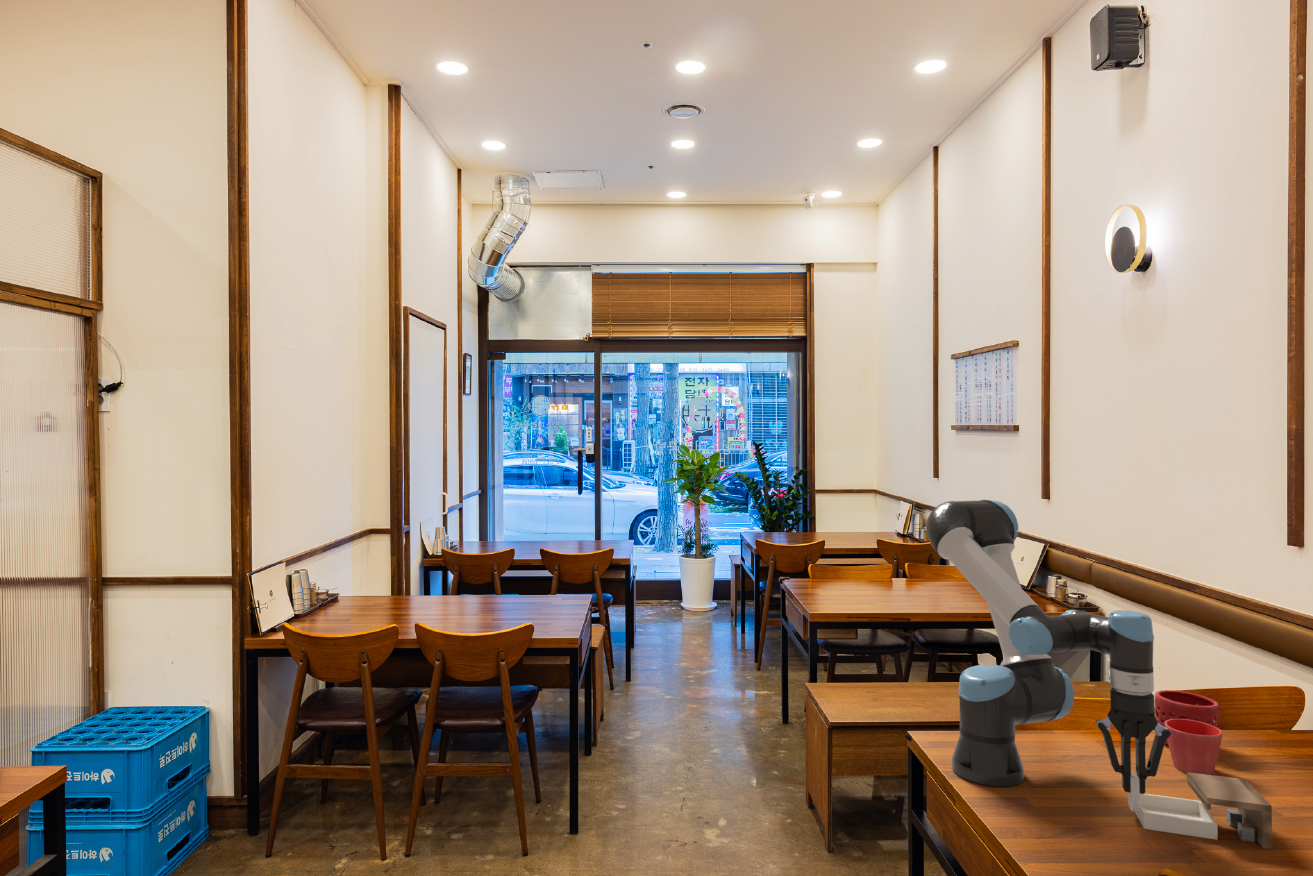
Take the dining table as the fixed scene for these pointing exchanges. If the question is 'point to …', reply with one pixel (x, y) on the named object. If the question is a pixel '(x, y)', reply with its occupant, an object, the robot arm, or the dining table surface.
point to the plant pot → (1185, 707)
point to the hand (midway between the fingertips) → (1134, 808)
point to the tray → (1176, 816)
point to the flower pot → (1193, 745)
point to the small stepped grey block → (1240, 825)
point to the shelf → (1236, 801)
